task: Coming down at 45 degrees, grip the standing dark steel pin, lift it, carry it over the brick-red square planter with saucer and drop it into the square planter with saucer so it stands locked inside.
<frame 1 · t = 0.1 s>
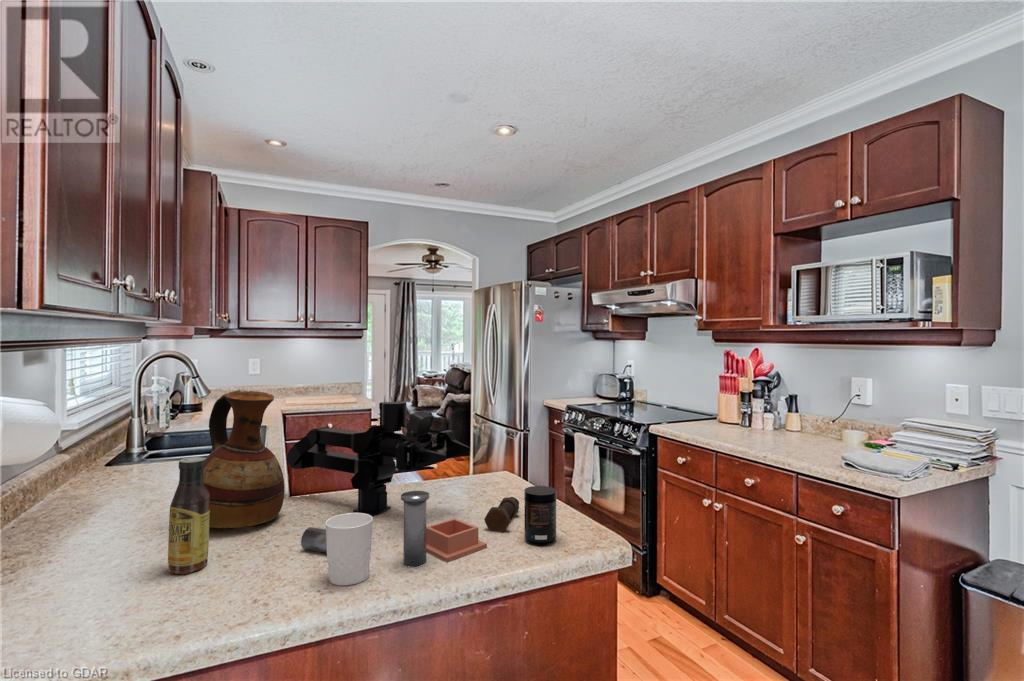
hand: (458, 453, 113), 17 cm above the counter, tool horizontal, fingers open, 9 cm apart
white cup: (349, 578, 90), on the counter
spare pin: (333, 552, 101), on the counter
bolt: (505, 522, 119), on the counter
ceramic pitcher: (237, 523, 117), on the counter
sauce bottle: (189, 569, 93), on the counter
supplement container: (540, 541, 107), on the counter
square planter with saucer: (451, 547, 103), on the counter
steel pin: (414, 562, 96), on the counter
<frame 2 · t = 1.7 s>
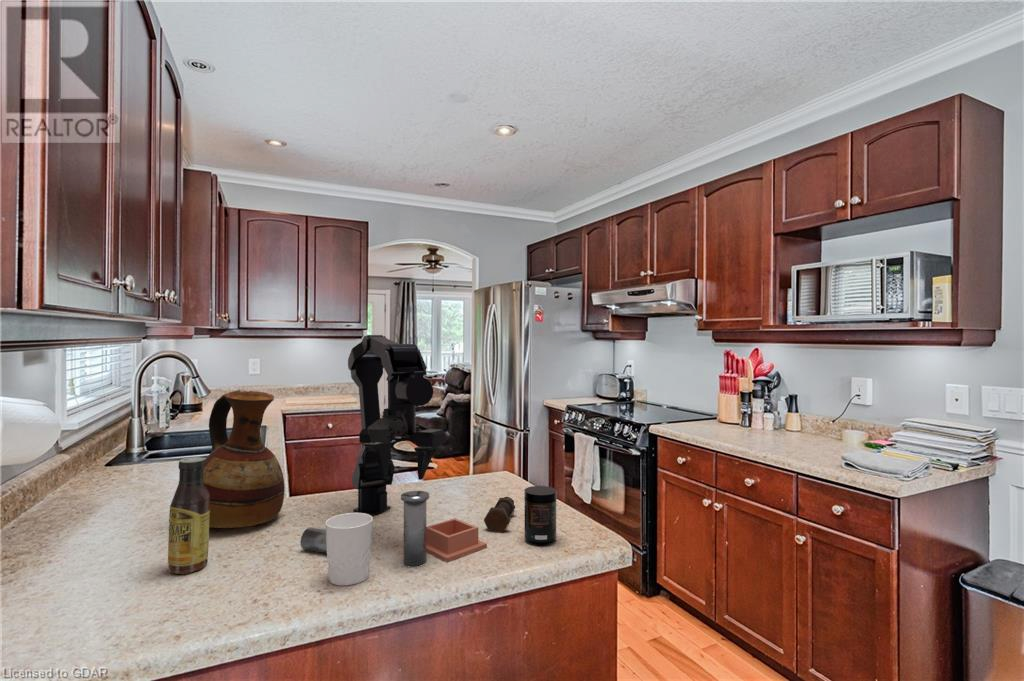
hand: (402, 477, 108), 13 cm above the counter, tool pointing down, fingers open, 9 cm apart
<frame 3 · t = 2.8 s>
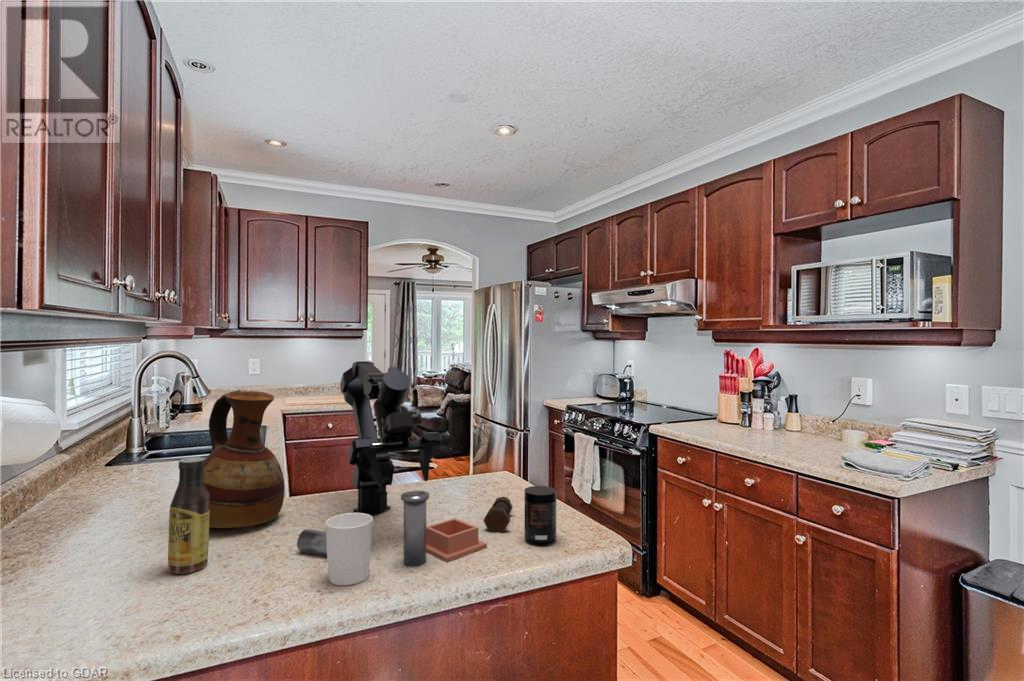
hand: (404, 483, 102), 13 cm above the counter, tool tilted 45°, fingers open, 9 cm apart
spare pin: (333, 551, 101), on the counter, tilted 32°
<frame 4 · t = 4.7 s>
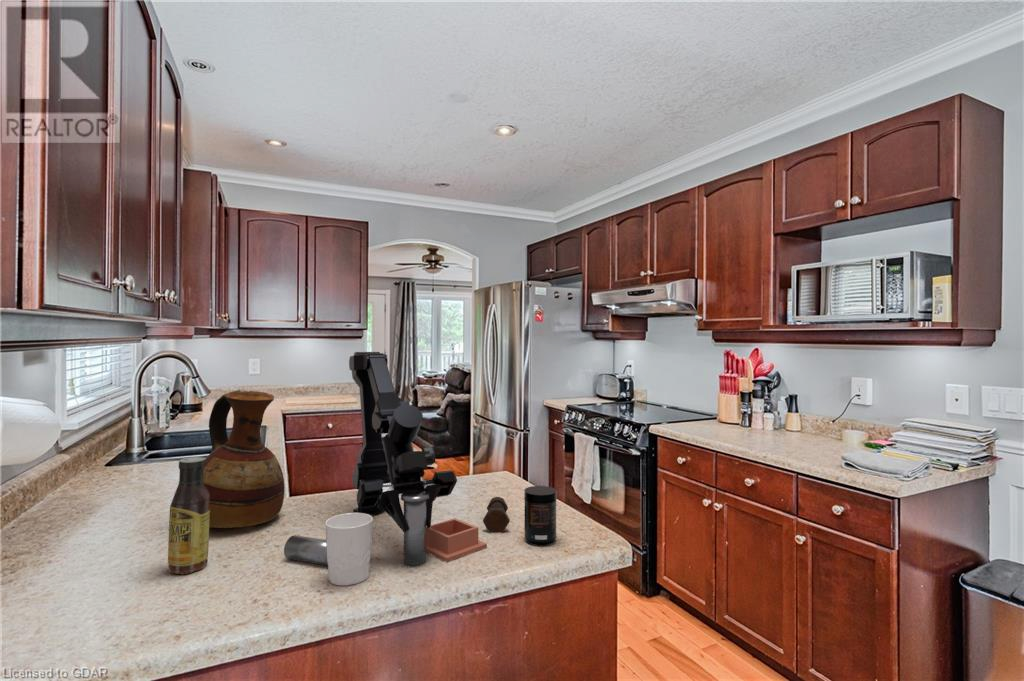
hand: (417, 529, 95), 7 cm above the counter, tool tilted 45°, fingers closed on steel pin, 4 cm apart
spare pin: (323, 540, 98), point 3 cm above the counter, tilted 132°
steel pin: (414, 562, 96), on the counter, touching gripper
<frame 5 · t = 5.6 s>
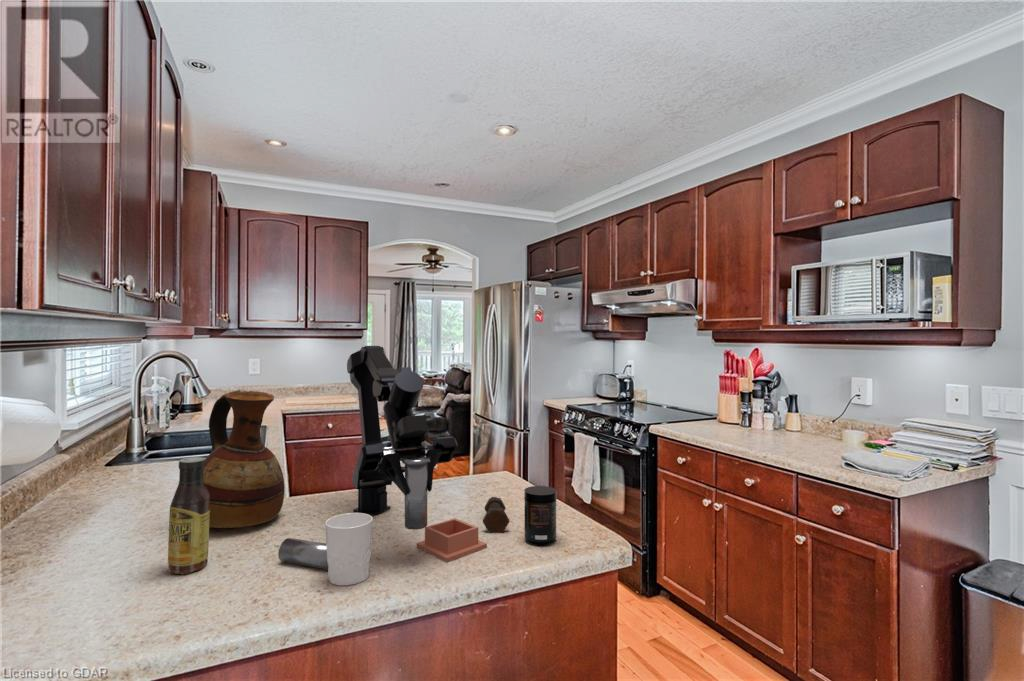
hand: (418, 492, 95), 13 cm above the counter, tool tilted 45°, fingers closed on steel pin, 4 cm apart
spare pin: (313, 542, 95), point 4 cm above the counter, tilted 172°
steel pin: (415, 525, 96), point 7 cm above the counter, touching gripper
when the fingers open (9 cm above the counter, at t = 7.4 s): steel pin drops 2 cm, resting on square planter with saucer.
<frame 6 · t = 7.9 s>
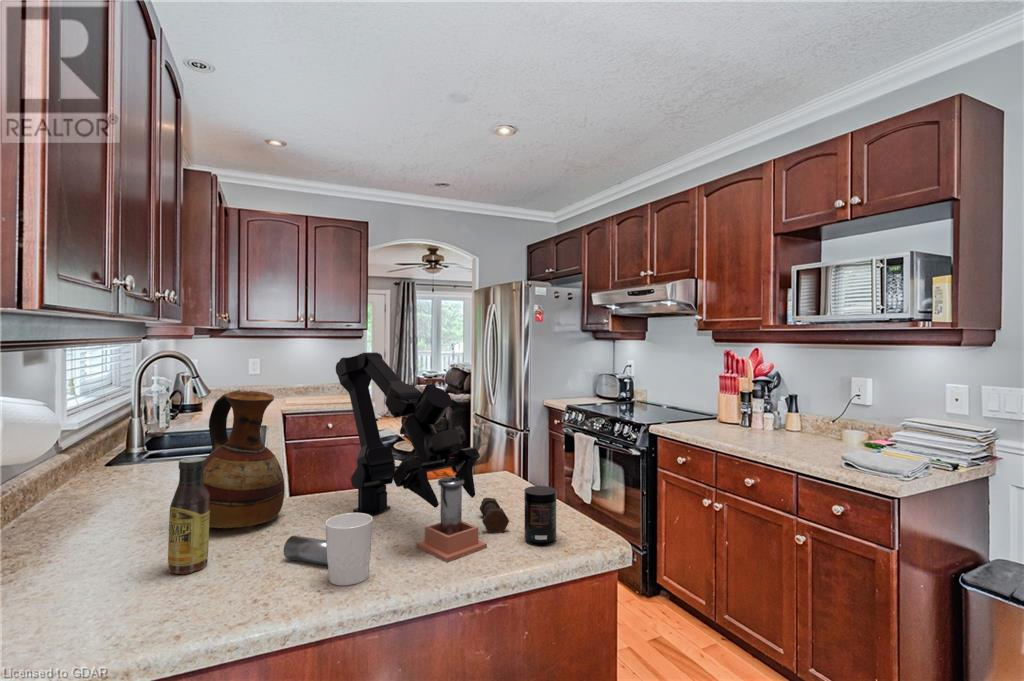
hand: (456, 501, 102), 10 cm above the counter, tool tilted 45°, fingers open, 9 cm apart
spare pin: (322, 540, 98), point 3 cm above the counter, tilted 135°
steel pin: (451, 543, 103), point 1 cm above the counter, touching square planter with saucer
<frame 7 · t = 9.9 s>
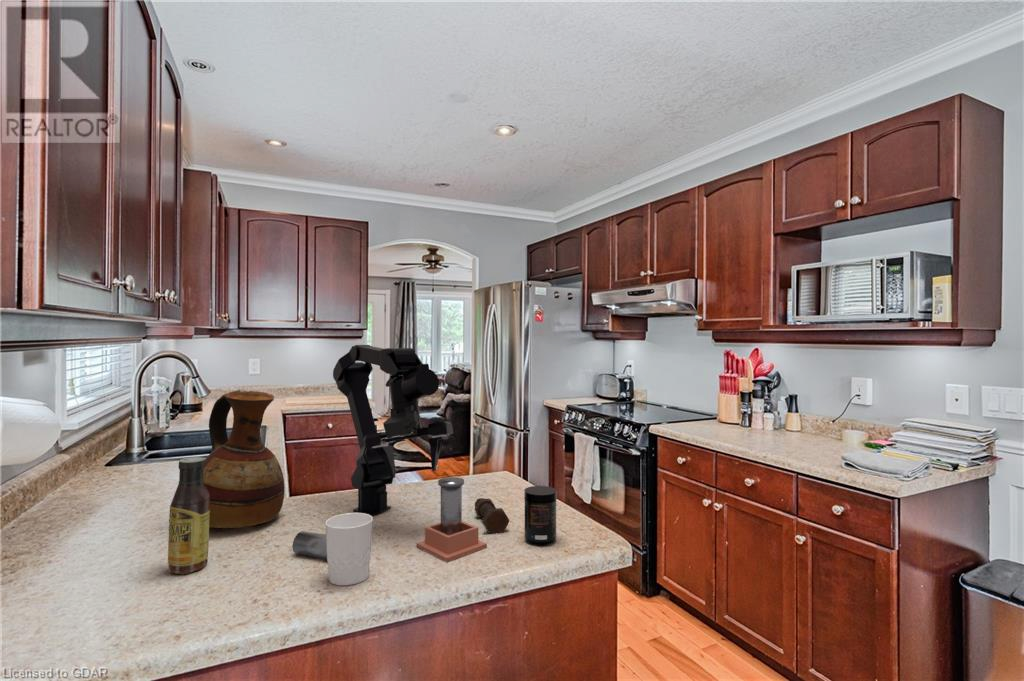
hand: (413, 474, 111), 12 cm above the counter, tool pointing down, fingers open, 9 cm apart
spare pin: (332, 546, 100), point 1 cm above the counter, tilted 68°
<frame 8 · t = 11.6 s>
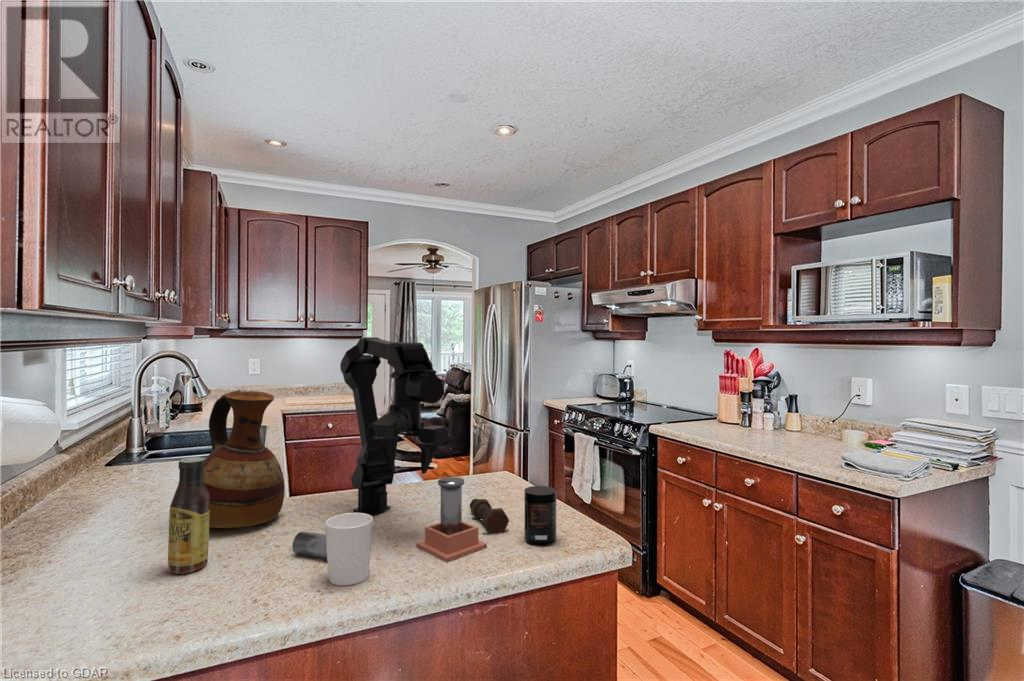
hand: (407, 470, 112), 13 cm above the counter, tool pointing down, fingers open, 9 cm apart
at the end: steel pin 0.1 cm off-centre on the square planter with saucer, point 0.8 cm above the square planter with saucer's base; steel pin tilted 0°; the gripper is holding nothing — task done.
